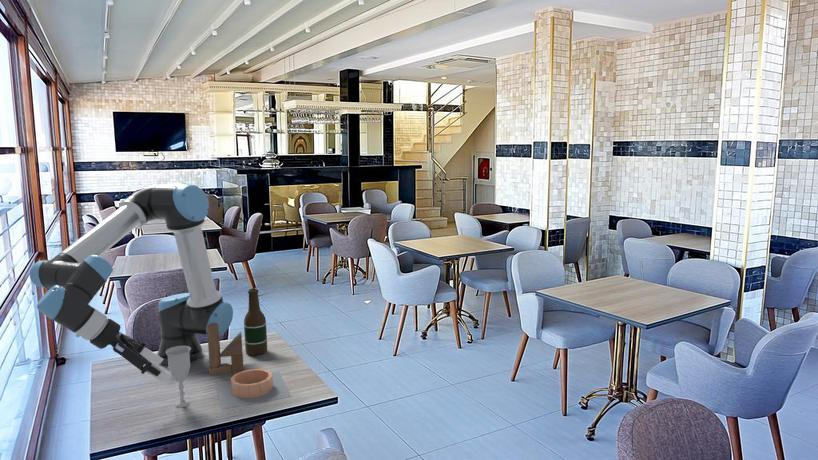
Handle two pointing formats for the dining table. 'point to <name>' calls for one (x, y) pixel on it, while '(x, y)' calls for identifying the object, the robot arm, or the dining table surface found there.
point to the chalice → (179, 368)
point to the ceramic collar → (254, 389)
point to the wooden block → (223, 352)
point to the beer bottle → (255, 327)
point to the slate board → (232, 401)
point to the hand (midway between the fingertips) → (164, 370)
